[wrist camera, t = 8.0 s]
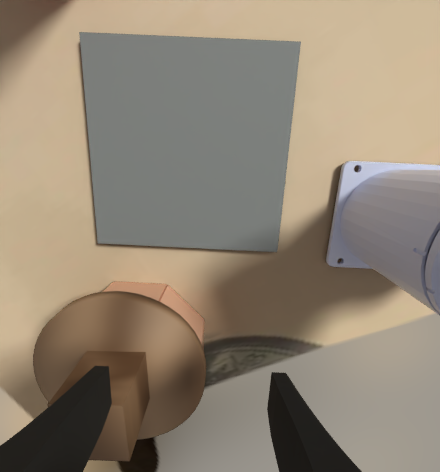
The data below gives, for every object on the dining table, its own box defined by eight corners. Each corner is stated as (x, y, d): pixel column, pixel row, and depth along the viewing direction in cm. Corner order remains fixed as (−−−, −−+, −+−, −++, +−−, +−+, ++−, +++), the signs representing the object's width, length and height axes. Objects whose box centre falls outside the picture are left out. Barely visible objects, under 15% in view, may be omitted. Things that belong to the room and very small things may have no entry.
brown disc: (205, 292, 17) (197, 342, 12) (206, 428, 20) (201, 510, 15) (28, 289, 17) (-48, 337, 12) (57, 425, 20) (6, 505, 16)
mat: (298, 46, 17) (300, 41, 16) (275, 249, 20) (277, 252, 20) (84, 36, 17) (79, 32, 16) (101, 241, 20) (97, 243, 20)
